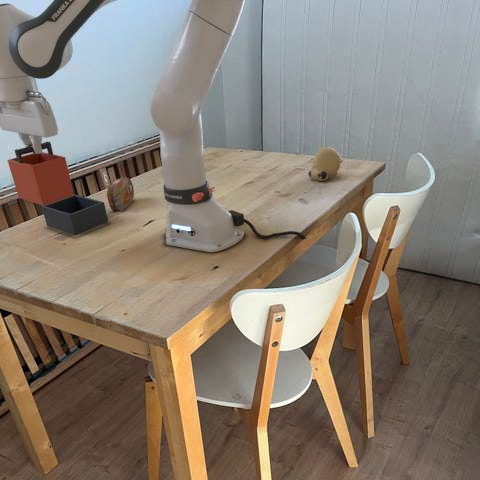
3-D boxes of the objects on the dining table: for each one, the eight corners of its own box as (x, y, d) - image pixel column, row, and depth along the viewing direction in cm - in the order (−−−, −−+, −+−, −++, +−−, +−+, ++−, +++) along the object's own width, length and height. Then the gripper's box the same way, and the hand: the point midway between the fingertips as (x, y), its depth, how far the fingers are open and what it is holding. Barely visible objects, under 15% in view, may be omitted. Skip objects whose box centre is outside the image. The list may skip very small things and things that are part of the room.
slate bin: (108, 223, 146) (104, 202, 142) (75, 237, 138) (70, 215, 135) (80, 215, 154) (75, 194, 150) (47, 228, 146) (41, 206, 142)
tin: (118, 215, 152) (112, 188, 148) (109, 214, 153) (103, 188, 148) (136, 198, 164) (131, 173, 160) (127, 198, 165) (122, 173, 160)
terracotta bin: (74, 195, 123) (62, 144, 116) (43, 205, 117) (28, 153, 111) (49, 187, 129) (36, 139, 122) (18, 197, 123) (3, 147, 116)
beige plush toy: (314, 185, 176) (298, 170, 169) (329, 155, 176) (314, 139, 168) (334, 190, 170) (319, 175, 162) (350, 159, 169) (335, 142, 161)
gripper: (56, 90, 106) (71, 154, 114) (6, 85, 117) (23, 145, 125) (30, 94, 102) (47, 161, 110) (-19, 89, 113) (0, 150, 121)
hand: (34, 152), depth 117 cm, fingers closed on terracotta bin
